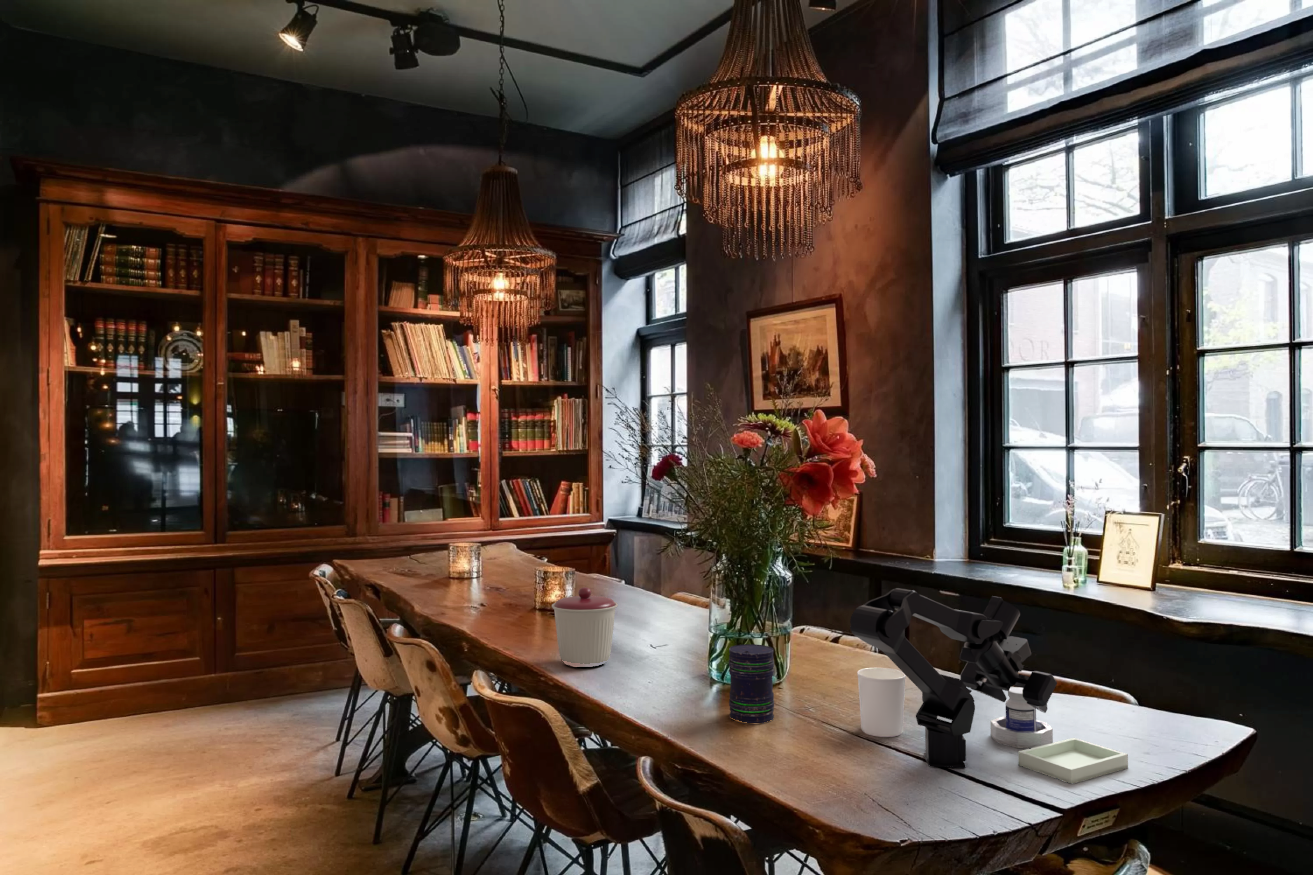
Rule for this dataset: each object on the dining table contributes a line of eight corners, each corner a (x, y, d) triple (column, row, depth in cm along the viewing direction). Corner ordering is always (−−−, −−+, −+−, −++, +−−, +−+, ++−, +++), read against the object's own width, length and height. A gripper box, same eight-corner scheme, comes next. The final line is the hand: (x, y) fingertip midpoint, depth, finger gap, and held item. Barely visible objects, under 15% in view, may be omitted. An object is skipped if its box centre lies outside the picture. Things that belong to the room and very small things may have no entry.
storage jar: (738, 708, 203) (738, 642, 204) (780, 714, 199) (779, 646, 199) (722, 720, 194) (721, 651, 195) (765, 726, 190) (765, 655, 190)
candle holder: (848, 727, 189) (847, 670, 189) (886, 721, 193) (885, 665, 193) (877, 740, 180) (876, 680, 180) (916, 734, 184) (916, 675, 184)
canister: (538, 663, 247) (538, 587, 248) (590, 653, 260) (590, 580, 260) (578, 675, 234) (578, 594, 234) (631, 664, 246) (631, 587, 246)
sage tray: (1071, 784, 156) (1071, 769, 156) (1018, 764, 166) (1018, 751, 166) (1128, 767, 164) (1127, 753, 164) (1074, 750, 174) (1073, 737, 174)
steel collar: (1000, 747, 176) (1000, 732, 176) (986, 730, 187) (986, 715, 187) (1058, 749, 175) (1057, 733, 175) (1040, 731, 185) (1040, 717, 185)
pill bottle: (1011, 733, 185) (1010, 684, 185) (1040, 738, 181) (1039, 689, 181) (1001, 740, 180) (1001, 690, 180) (1031, 746, 177) (1030, 695, 177)
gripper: (1050, 633, 171) (1084, 682, 177) (968, 618, 187) (1001, 664, 193) (1026, 680, 167) (1061, 729, 172) (943, 661, 182) (979, 707, 188)
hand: (1025, 705), depth 181 cm, fingers open, 9 cm apart
